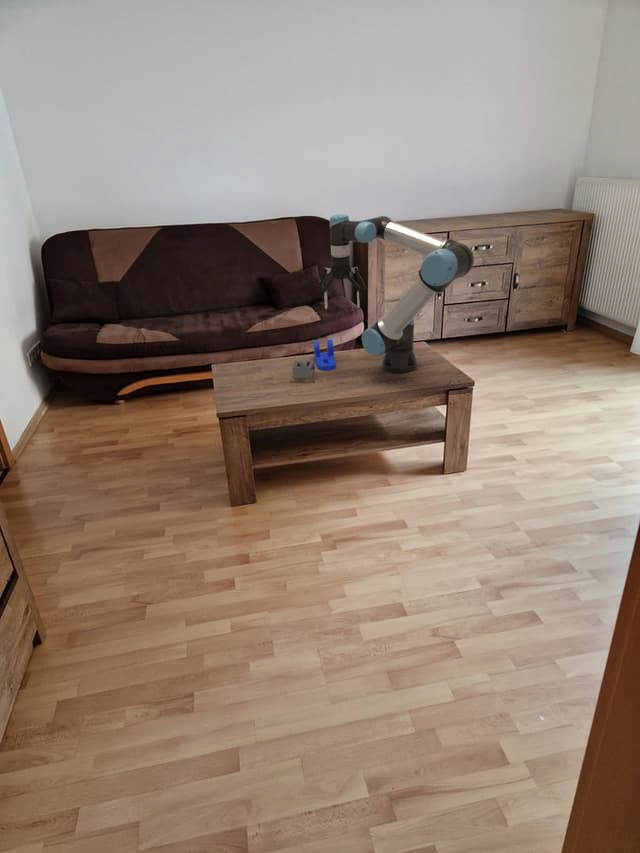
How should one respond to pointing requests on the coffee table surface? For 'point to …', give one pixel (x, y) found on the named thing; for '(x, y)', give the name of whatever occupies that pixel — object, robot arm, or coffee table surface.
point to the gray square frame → (303, 370)
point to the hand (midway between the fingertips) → (342, 307)
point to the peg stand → (304, 363)
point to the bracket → (324, 356)
